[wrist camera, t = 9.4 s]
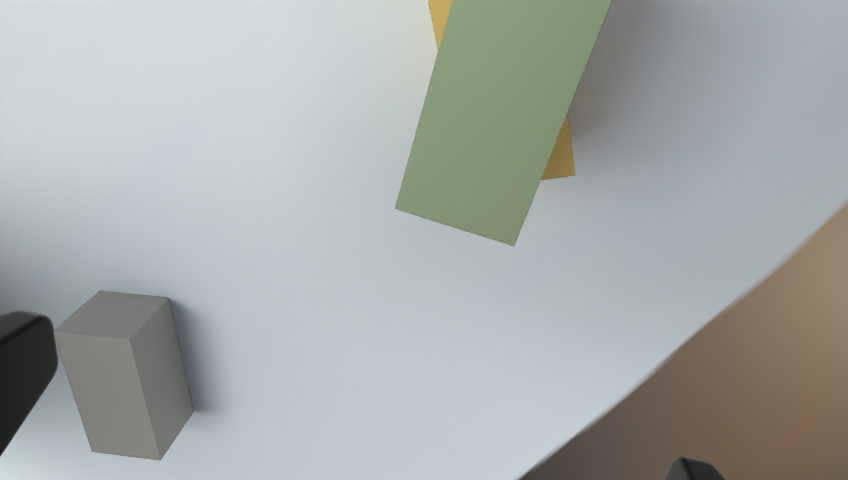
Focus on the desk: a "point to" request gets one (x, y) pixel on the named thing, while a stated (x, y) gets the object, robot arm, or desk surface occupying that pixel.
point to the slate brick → (126, 373)
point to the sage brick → (496, 110)
